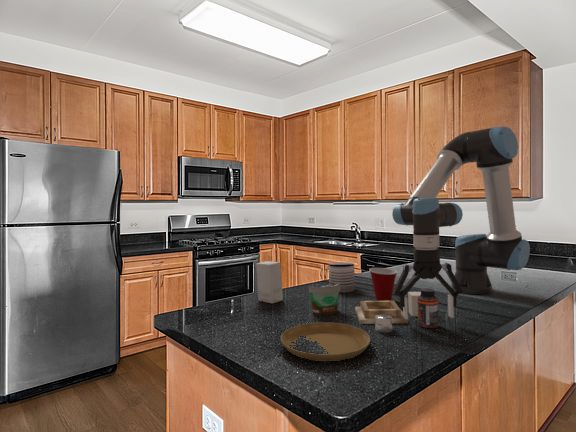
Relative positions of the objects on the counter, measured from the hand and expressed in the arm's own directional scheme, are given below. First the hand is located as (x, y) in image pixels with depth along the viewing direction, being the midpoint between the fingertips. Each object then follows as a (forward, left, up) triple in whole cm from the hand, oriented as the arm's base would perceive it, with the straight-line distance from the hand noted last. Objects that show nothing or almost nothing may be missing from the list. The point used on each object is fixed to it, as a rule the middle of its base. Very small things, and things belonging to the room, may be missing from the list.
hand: (428, 316), depth 116 cm
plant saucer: (+32, +16, -3) cm, 36 cm away
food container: (+30, -14, -3) cm, 33 cm away
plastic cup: (+8, -30, -3) cm, 31 cm away
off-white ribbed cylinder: (+23, -49, -3) cm, 54 cm away
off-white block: (0, -12, -3) cm, 12 cm away
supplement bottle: (0, 0, -3) cm, 3 cm away
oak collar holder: (+13, -10, -3) cm, 17 cm away
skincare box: (+53, -32, -3) cm, 62 cm away
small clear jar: (+14, +3, -3) cm, 15 cm away
